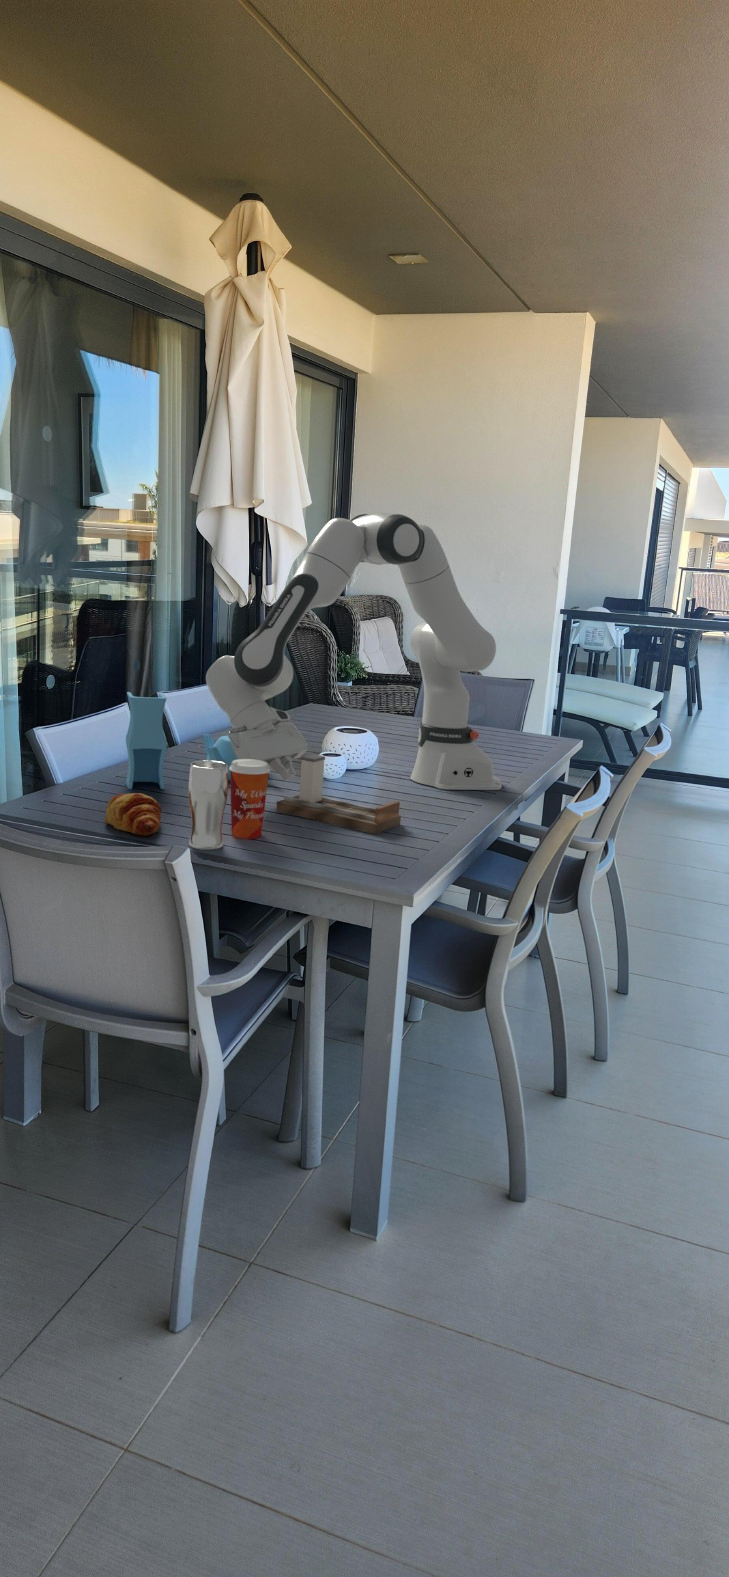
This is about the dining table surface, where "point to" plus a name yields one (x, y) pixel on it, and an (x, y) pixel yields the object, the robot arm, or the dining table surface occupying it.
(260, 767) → the paper cup
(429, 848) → the dining table surface
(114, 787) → the dining table surface
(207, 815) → the beer glass
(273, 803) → the dining table surface
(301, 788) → the fader knob
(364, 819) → the brown wooden tray
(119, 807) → the croissant
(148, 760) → the vase
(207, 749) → the teapot
